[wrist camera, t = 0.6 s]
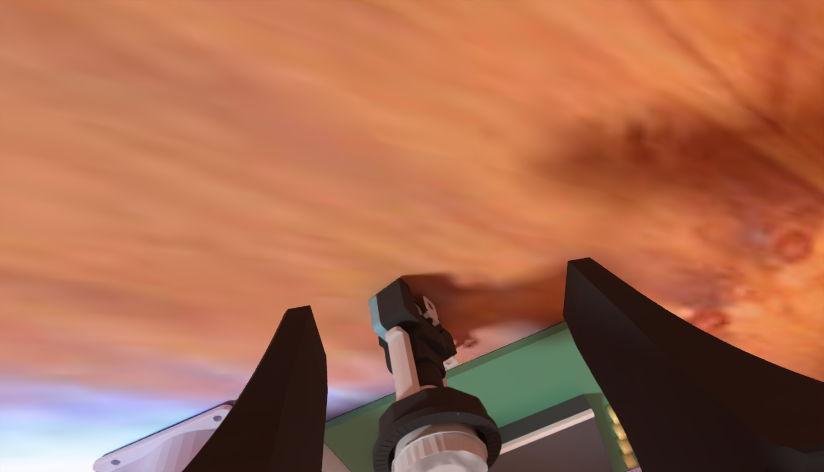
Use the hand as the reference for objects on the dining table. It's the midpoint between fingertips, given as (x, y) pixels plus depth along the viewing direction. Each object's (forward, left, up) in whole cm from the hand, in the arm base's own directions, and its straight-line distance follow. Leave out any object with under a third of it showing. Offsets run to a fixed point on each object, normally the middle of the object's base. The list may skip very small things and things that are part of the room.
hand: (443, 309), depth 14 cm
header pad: (0, -26, -10) cm, 28 cm away
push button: (-3, -9, -11) cm, 15 cm away
